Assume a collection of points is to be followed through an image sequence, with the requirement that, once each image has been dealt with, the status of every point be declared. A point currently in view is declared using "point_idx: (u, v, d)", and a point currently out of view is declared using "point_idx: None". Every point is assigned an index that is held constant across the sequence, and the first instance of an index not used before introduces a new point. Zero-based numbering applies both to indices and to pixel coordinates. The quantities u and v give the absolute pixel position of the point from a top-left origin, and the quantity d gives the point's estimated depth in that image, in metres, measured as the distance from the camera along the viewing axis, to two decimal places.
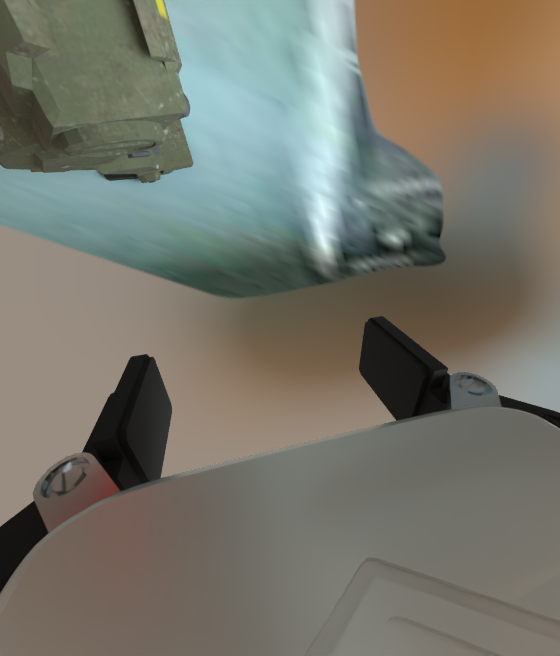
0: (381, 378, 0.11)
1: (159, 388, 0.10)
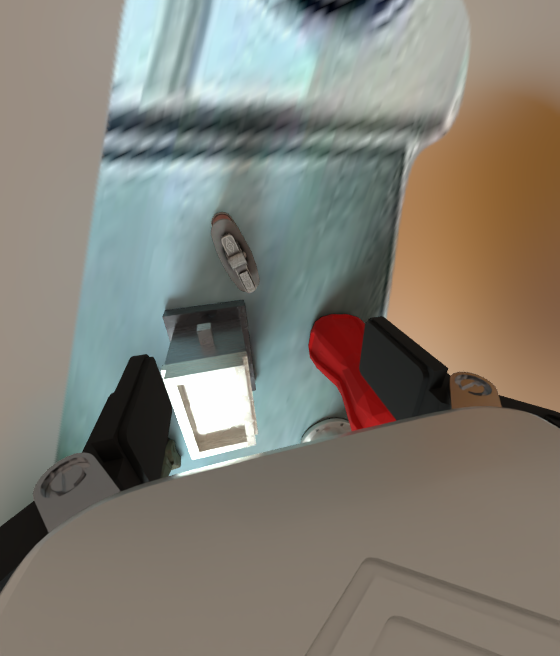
0: (381, 378, 0.11)
1: (159, 388, 0.10)
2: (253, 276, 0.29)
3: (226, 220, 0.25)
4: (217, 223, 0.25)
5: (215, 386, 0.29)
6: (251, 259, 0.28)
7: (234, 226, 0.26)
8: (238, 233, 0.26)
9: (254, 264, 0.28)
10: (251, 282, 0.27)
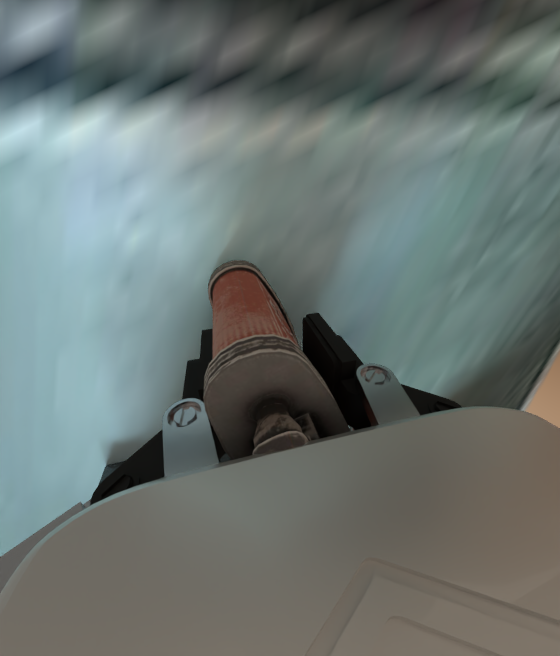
0: None
1: None
2: None
3: (273, 353, 0.06)
4: (233, 369, 0.05)
5: None
6: None
7: (305, 370, 0.06)
8: (317, 390, 0.06)
9: None
10: None
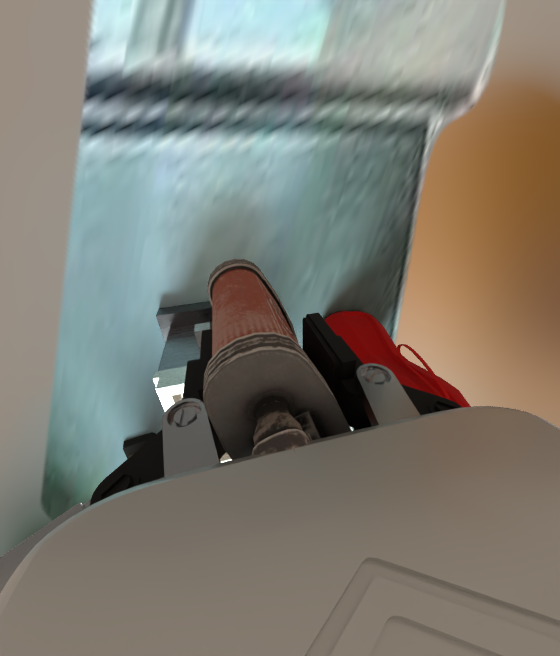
0: None
1: None
2: None
3: (273, 350, 0.06)
4: (233, 367, 0.05)
5: None
6: None
7: (305, 368, 0.06)
8: (317, 388, 0.06)
9: None
10: None
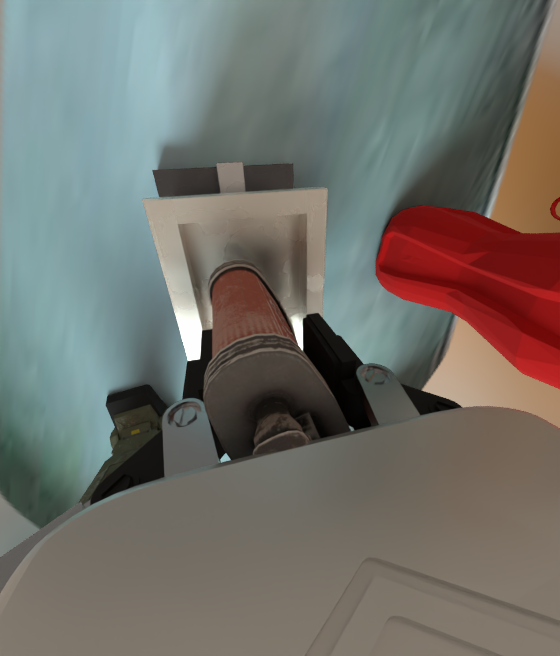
0: None
1: None
2: None
3: (274, 352, 0.06)
4: (233, 368, 0.05)
5: (257, 259, 0.14)
6: None
7: (305, 370, 0.06)
8: (317, 389, 0.06)
9: None
10: None
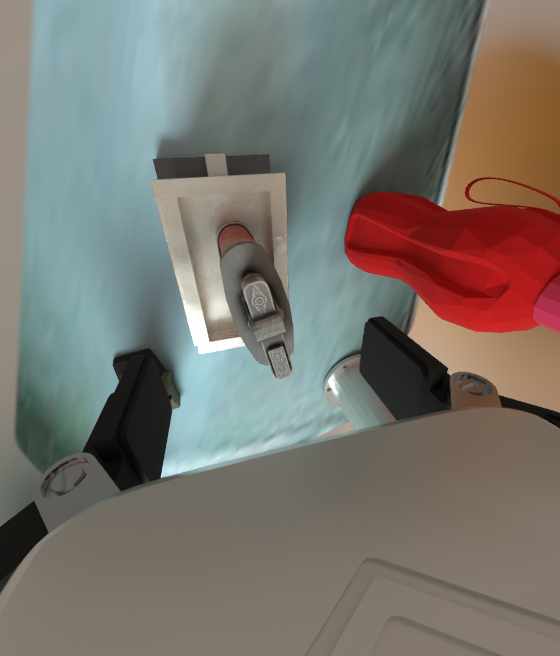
0: (381, 378, 0.11)
1: (159, 388, 0.10)
2: (284, 342, 0.16)
3: (253, 245, 0.13)
4: (235, 250, 0.13)
5: None
6: (286, 316, 0.15)
7: (267, 258, 0.13)
8: (272, 271, 0.14)
9: (290, 324, 0.16)
10: (287, 364, 0.14)
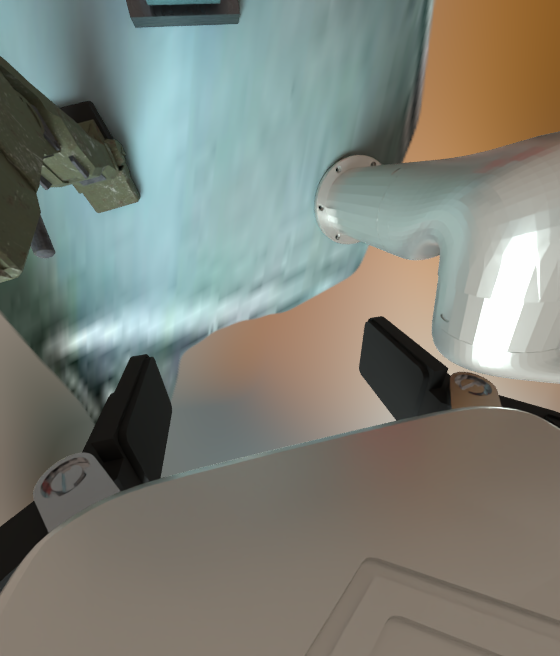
0: (381, 378, 0.11)
1: (159, 388, 0.10)
2: None
3: None
4: None
5: None
6: None
7: None
8: None
9: None
10: None
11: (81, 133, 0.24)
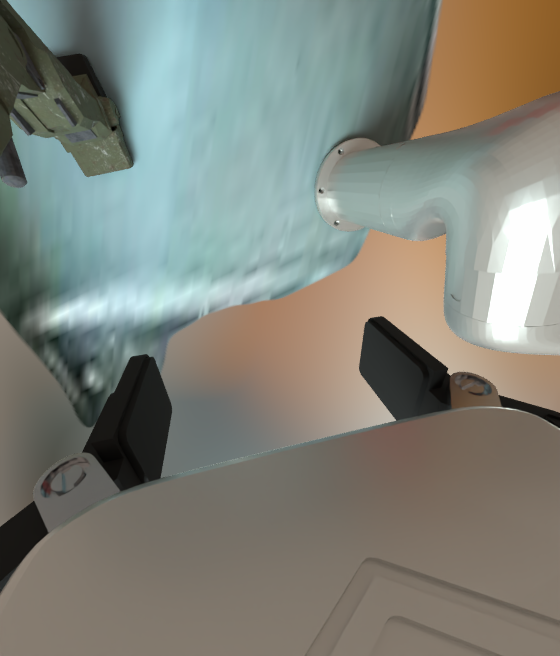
0: (381, 378, 0.11)
1: (159, 388, 0.10)
2: None
3: None
4: None
5: None
6: None
7: None
8: None
9: None
10: None
11: (70, 78, 0.22)
